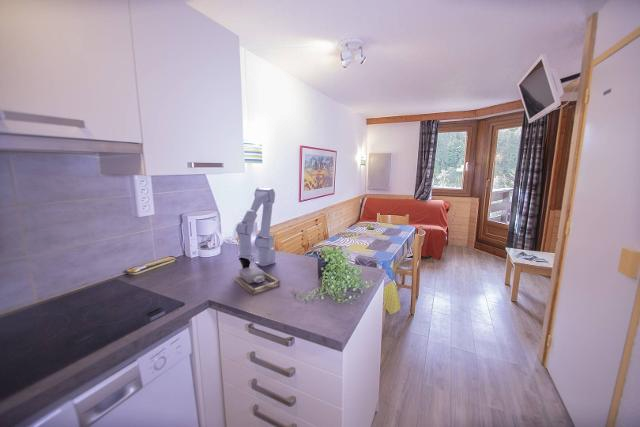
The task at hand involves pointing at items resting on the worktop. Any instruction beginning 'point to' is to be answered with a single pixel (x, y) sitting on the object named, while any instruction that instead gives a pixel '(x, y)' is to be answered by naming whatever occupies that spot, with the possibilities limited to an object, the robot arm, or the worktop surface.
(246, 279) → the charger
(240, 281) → the frame
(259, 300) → the worktop surface
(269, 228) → the robot arm
